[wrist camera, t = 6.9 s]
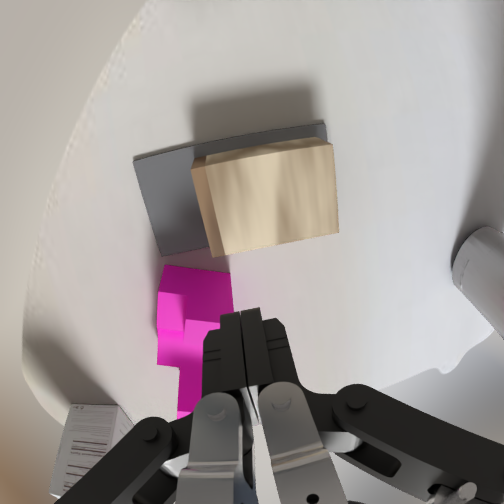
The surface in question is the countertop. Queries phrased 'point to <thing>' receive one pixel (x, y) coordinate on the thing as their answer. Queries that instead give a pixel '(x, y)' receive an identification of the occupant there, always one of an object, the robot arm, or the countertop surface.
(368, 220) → the countertop surface
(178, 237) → the mat
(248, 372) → the robot arm
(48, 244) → the countertop surface
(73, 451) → the supplement box
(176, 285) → the toy block
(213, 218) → the ash block
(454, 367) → the countertop surface
